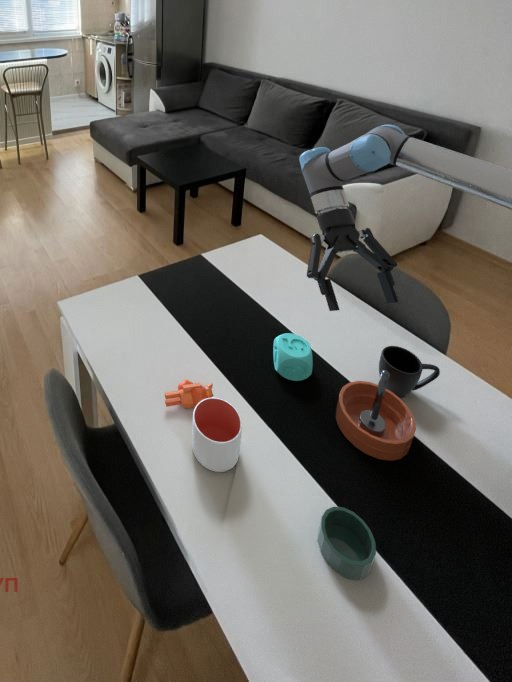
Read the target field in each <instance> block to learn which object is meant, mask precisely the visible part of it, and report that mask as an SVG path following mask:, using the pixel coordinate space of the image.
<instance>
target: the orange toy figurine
mask: <svg viewBox="0 0 512 682" xmlns="http://www.w3.org/2000/svg"><path fill="white" fill-rule="evenodd" d="M212 389H213V383H212V382H211V383H209V384H207V385H203V384H202V383H201V382H192V381H191V380H188V379H183V380H182V381H181V382H179V384H178V385H177V390H174V391H173V390H172V391H166V392H164V398H165V399H164V404H165V407H166V408H168V407H174V406H181V407H184V409H191V408H195V407H196V405H197V404H198V403H199V402H200V401H202V400H204V399H207V398H214V393H213V390H212Z"/></svg>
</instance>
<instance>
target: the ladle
mask: <svg viewBox="0 0 512 682" xmlns="http://www.w3.org/2000/svg"><path fill="white" fill-rule="evenodd" d="M389 376H390V374H389V372H388V371H386V370H383V371H382V373H381V377H380V376H379V381H378V384H377V385H378V388H377V392H376V396H375V399H374V403H373V407H372V410H363V411H362V412H361V413H360V417H359V425H360V427H361V428H362V429H363V430H365V431H366V432H368V433H370V434H371V435H373V436H376V437H381V436H382V435H383V434H384V432H385V428H386V423H385V421H384V419H383V418H382V417H381V416H380V415H379V411H380V408H381V404H382V401H383V397H384V394H385V390H386V387H387V383H388V379H389Z"/></svg>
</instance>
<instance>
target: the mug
mask: <svg viewBox="0 0 512 682" xmlns="http://www.w3.org/2000/svg"><path fill="white" fill-rule="evenodd" d="M383 370H386V371H388V372H389V374H390V376H389V379H388V383H387V387H386V389H388V390H389V391H391V392H393V393H394V394H395V395H396V396H398V397H399V398H400V399H404V398H406V397H407V395H409V394H411V392H412V391H417V390H420V389H422V388H423V387H425V386H427V385H428V384H430V383H432V382H434V380H436V379H438V378H439V376H440V374H441V370H440V368H439V366H438V365H435V364H431V363H422V361H421V360H420V358H419V357H418V356H417V355H416V354H415V353H413V352H412V351H411V350H408V349H406V348H405V347H401V346H398V345H388V346H385V347H383V349H382V350H381V353H380V356H379V361H378V376H379V378H380V377H381V373H382V371H383ZM423 370H431V371H433V372H432V373H430V374H429V375H428V376H427V377H425V378H423V379H422V380H420V379H421V376H422V373H423Z"/></svg>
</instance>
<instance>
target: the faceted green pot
mask: <svg viewBox="0 0 512 682" xmlns="http://www.w3.org/2000/svg"><path fill="white" fill-rule="evenodd" d="M319 522H320V523H319V526H318V529H317V530H318V531H317V544H318V547H319V551H320V553H321V556H322V557H323V559H324V560H325V562H326V563H327V564H328V566H329V567H330V568H331V569H332V570H333V571H334V572H335V573H337V574H338V575H340V576H342V577H343V578H345V579H348V580H352V581H360V580H363V579H364V578H366V577H368V575H369V574H370V571H371V569H372V567H373V564H374V561H375V557H376V555H377V544H376V543H377V542H376V540H375V538H374V535H373V533H372V530H371V528H370V527H369V526H368V524H367V523H366V522H365V521H364V519H363V518H361V517H360V516H359V515H358V514H357V513H355V512H354V511H352V510H350V509H348V508H346V507H343V506H331V507H329V508H327V509H325V511H324V512H323V514H322V516H321V519H320V521H319Z"/></svg>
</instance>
